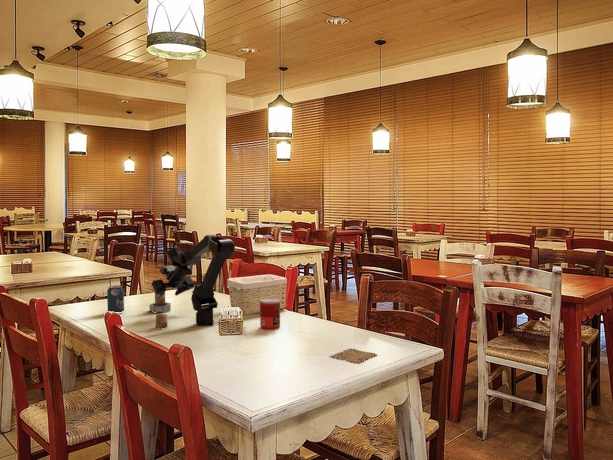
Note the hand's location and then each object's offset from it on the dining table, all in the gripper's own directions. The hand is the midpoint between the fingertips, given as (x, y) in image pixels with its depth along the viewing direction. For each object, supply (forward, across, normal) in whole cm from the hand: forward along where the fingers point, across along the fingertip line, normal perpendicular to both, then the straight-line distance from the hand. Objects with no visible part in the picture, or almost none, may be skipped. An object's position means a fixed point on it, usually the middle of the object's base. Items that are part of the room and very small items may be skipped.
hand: (166, 296), depth 235 cm
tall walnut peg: (+9, 0, +1) cm, 9 cm away
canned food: (-31, -15, +43) cm, 55 cm away
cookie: (-63, -8, +78) cm, 101 cm away
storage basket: (-11, -33, +23) cm, 41 cm away
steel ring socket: (+9, 0, +1) cm, 9 cm away
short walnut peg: (-10, +16, +21) cm, 28 cm away
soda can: (+17, +16, -6) cm, 24 cm away
